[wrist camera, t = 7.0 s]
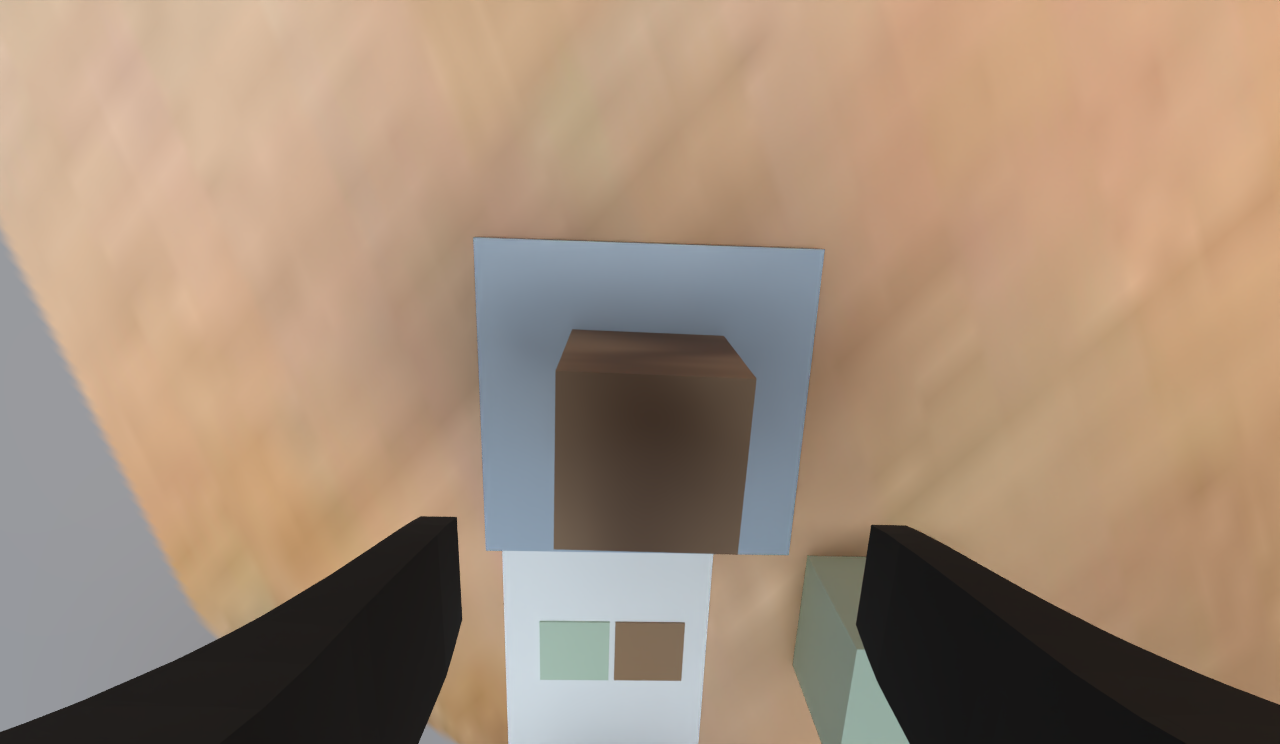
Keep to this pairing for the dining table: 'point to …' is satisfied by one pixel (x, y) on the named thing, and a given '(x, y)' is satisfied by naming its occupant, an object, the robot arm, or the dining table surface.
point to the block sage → (839, 658)
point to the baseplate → (637, 302)
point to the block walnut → (650, 442)
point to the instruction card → (605, 646)
